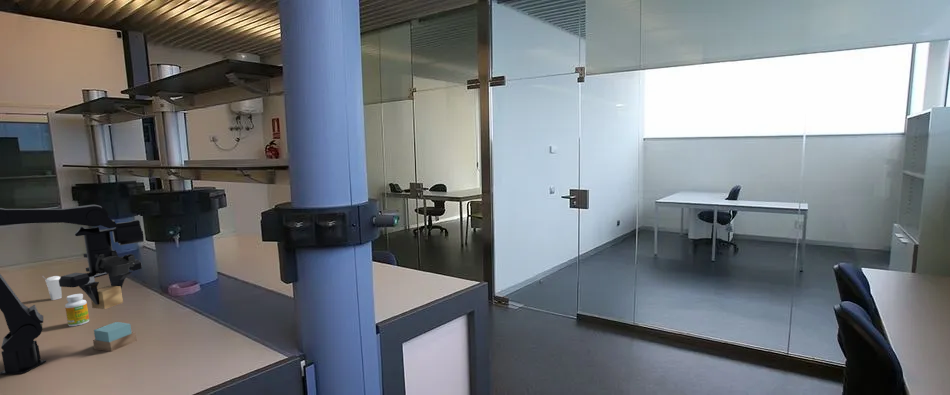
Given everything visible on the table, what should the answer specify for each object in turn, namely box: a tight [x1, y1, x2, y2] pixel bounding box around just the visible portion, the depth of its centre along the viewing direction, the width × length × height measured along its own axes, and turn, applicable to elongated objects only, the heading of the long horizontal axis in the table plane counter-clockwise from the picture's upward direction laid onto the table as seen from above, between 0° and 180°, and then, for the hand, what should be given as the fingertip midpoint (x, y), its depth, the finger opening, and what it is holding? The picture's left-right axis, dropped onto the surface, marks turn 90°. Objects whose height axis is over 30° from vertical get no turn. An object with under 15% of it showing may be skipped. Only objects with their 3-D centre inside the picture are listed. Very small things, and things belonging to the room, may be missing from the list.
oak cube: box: [90, 285, 124, 310], centre depth 129 cm, size 5×5×5 cm
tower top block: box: [93, 321, 133, 342], centre depth 130 cm, size 6×6×3 cm
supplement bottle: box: [64, 293, 90, 327], centre depth 149 cm, size 5×5×10 cm
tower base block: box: [93, 331, 138, 352], centre depth 130 cm, size 7×7×3 cm
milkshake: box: [42, 275, 63, 301], centre depth 178 cm, size 5×5×10 cm
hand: (107, 301), depth 129 cm, fingers closed on oak cube, 5 cm apart
